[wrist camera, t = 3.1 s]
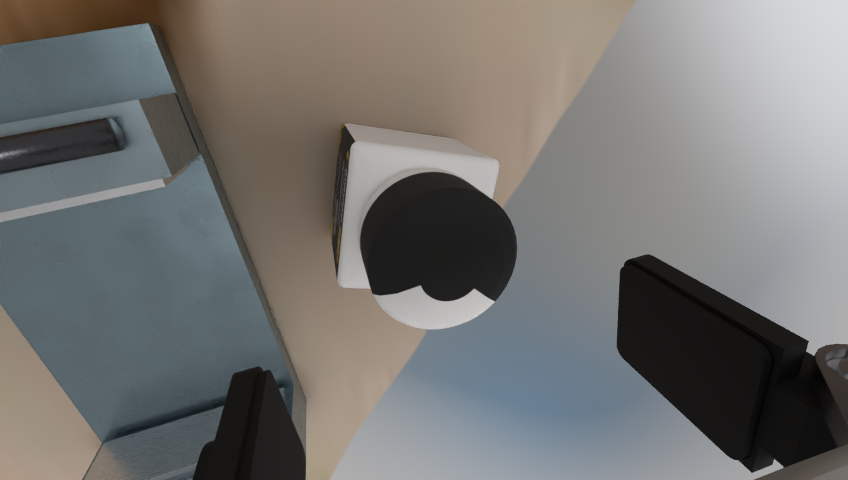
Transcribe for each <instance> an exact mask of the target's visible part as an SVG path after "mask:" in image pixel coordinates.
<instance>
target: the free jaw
mask: <svg viewBox="0 0 848 480" xmlns="http://www.w3.org/2000/svg"><path fill="white" fill-rule="evenodd" d="M197 156H199V152H198V150H197V147H196V145H195V142H194V140H193V138H192V135H191V133H190V130H189V128H188V125H187V123H186V120H185V118H184V115H183V113H182V110H181V108H180V105H179V103H178V100H177V98H176V95H175V93H172V94H166V95H160V96H155V97H149V98H144V99H138V100H133V101H127V102H122V103H116V104H110V105H105V106H99V107H94V108H88V109H83V110H77V111H72V112H66V113H61V114H55V115H49V116H44V117H38V118H33V119H27V120H22V121H16V122H11V123H5V124H0V222H4V221H9V220H13V219H18V218H22V217H27V216H32V215H36V214H41V213H46V212H50V211H55V210H59V209H64V208H69V207H73V206H78V205H83V204H87V203H92V202H96V201H101V200H106V199H110V198H115V197H120V196H124V195H129V194H134V193H138V192H143V191H147V190H152V189H157V188H161V187H166V186H167V185H168V184H169V183H171V182H172V181H173V180H174V179H175V178H177V177H178V176H179V175H180V174H182V173H183V172H184V171H185V170H186V169H188V168H189V167H190V166H191V165H190V162H191V161H192V160H194V159H195V158H196V157H197Z"/></svg>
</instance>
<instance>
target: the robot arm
mask: <svg viewBox="0 0 848 480" xmlns="http://www.w3.org/2000/svg"><path fill="white" fill-rule="evenodd" d="M808 342H809V341H807V340H805V339H804V338H802V337H800V336H798V335H796V334H795V333H793V332H790V331H789V330H787V329H785V328H784V327H782V326H780V325H778V324H776V323H774V322H772V321H771V320H769V319H767V318H765V317H763V316H761V315H760V314H758V313H756V312H754V311H752V310H751V309H749V308H747V307H745V306H743V305H741V304H740V303H738V302H736V301H734V300H732V299H731V298H729V297H727V296H725V295H723V294H721V293H720V292H718V291H716V290H714V289H712V288H710V287H709V286H707V285H705V284H703V283H701V282H699V281H698V280H696V279H694V278H692V277H690V276H688V275H687V274H685V273H683V272H681V271H679V270H678V269H676V268H674V267H672V266H670V265H668V264H666V263H665V262H663V261H661V260H659V259H657V258H656V257H654V256H651V255H643V256H640V257H636V258H632V259H629V260H627V261H626V262H625V264H624V267H622V268H621V270H620V284H619V306H618V328H617V348H618V351H619V353H620V355H621V356H622V358H623V359H624V360H625V361H626V362H628V363H629V364H630V365H631V366H632V367H633V368H634V369H635V370H636V371H637V372H638V373H639V374H640V375H642V376H643V377H644V378H645V379H646V380H647V381H648V382H649V383H650V384H651V385H652V386H653V387H654V388H656V389H657V390H658V391H659V392H660V393H661V394H662V395H663V396H664V397H665V398H666V399H667V400H668V401H669V402H670V403H671V404H673V405H674V406H675V407H676V408H677V409H678V410H679V411H680V412H681V413H682V414H683V415H684V416H686V418H688V419H689V420H690V421H691V422H692V423H693V424H694V425H695V426H696V427H697V428H698V429H699V430H700V431H701V432H703V433H704V434H705V435H706V436H707V437H708V438H709V439H710V440H711V441H712V442H713V443H715V445H716V446H718V447H719V448H720V449H721V450H722V451H723V452H724V453H725V454H726V455H727V456H729V457H730V458H732V459H734V460H739V461H740V462H741V463H742V464H743V465H744V466H745V467H746V468H747V469H748V470H750V471H751V472H752V473H753V472H755V471H757V470H760V469H763V468H765V467H767V466H770V465H772V464H773V460H774V459H775V460H777V461H778V462H779V463H780V464H781V465H783V467H784V468H783V469H780V470H777V471H775V472H773V473H770V474H768V475H765V476H762V477H760V478H757V479H755V480H848V345H847V344H834V345H826V346H824V347H822V348H819V349H818V350H817V352H816V354H815V356H813V355H811V354H809V353H808V352H806V349H807V345H808ZM305 476H306V458H305V451H304V448H303V445H302V442H301V440H300V438H299V435H298V433H297V431H296V428H295V426H294V423H293V421H292V419H291V416H290V414H289V412H288V409H287V407H286V404H285V402H284V400H283V397H282V395H281V393H280V390H279V388H278V385H277V383H276V381H275V378H274V376H273V374H272V372H271V371H270V370H266V371H263V369H262V368H261V367H260V366H257V367H254V368H250V369H247V370H243V371H240V372H236V373H234V374H233V376H232V379H231V382H230V386H229V389H228V393H227V397H226V400H225V404H224V408H223V411H222V415H221V418H220V422H219V426H218V429H217V433H216V437H215V440H214V441H210V442H207V443H206V444H205V445H204V446H203V448H202V450H201V453H200V456H199V459H198V462H197V466H196V469H195V472H194V476H193V479H192V480H305Z"/></svg>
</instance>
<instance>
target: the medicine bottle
mask: <svg viewBox="0 0 848 480" xmlns="http://www.w3.org/2000/svg"><path fill="white" fill-rule="evenodd" d="M498 172H499V163H498V161H497V160H496V159H494V158H492V157H490V156H487V155H485V154H483V153H481V152H479V151H477V150H475V149H473V148H471V147H469V146H467V145H465V144H463V143H461V142H459V141H457V140H455V139H452V138H447V137H440V136H433V135H426V134H419V133H412V132H405V131H398V130H391V129H384V128H377V127H370V126H363V125H356V124H349V123H346V124H343V125H342V126H341V128H340V138H339V149H338V160H337V171H336V182H335V193H334V204H333V215H332V226H331V238H332V245H333V253H334V260H335V268H336V275H337V282H338V284H339V285H340V286H341V287H342V288H362V289H371V290H372V293H373V295H374V297H375V299H376V301H377V302H378V304H379V305H380V306H381V307H382V309H383V310H384V311H385V312H386V313H388V314H389V315H390V316H391V317H393V318H394V319H396V320H397V321H399V322H401V323H403V324H405V325H408V326H412V327H415V328H421V329H443V328H448V327H453V326H457V325H459V324H462V323H465V322H467V321H469V320H471V319H473V318H475V317H476V316H478V315H480V314H481V313H483V312H484V311H485V310H486V309H488V308H489V307H490V306H491V305H492V304H493V303H494V302H495V301H496V300H497V298H498V297H499V296H500V295H501V293H502V292H503V290H504V289H505V287H506V286H507V284H508V282H509V280H510V278H511V276H512V273H513V269H514V266H515V262H516V255H517V242H516V235H515V231H514V228H513V225H512V223H511V221H510V219H509V217H508V216H507V214H506V213H505V211H504V210H503V209H502V208H501V207H500V206H499V205H498V204H497V203H496V202H495V201H493V200H492V198H493V194H494V189H495V185H496V181H497V176H498Z"/></svg>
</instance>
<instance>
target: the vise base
mask: <svg viewBox="0 0 848 480" xmlns="http://www.w3.org/2000/svg"><path fill="white" fill-rule="evenodd" d="M172 93H175V95H176V98H177V100H178V103H179V105H180V108H181V110H182V113H183V115H184V118H185V120H186V123H187V125H188V128H189V130H190V133H191V135H192V138H193V140H194V142H195V145H196V147H197V150H198V152H199V156H197V157H196V158H195V159H194V160H192V161H191V162H190V165H191V166H190V167H189V168H188V169H186V170H185V171H184V172H183V173H182V174H180V175H179V176H178V177H177V178H175V179H174V180H173V181H172V182H171V183H169V184H168V185H167V186H166V187H161V188H157V189H152V190H147V191H143V192H138V193H134V194H129V195H124V196H120V197H115V198H110V199H106V200H101V201H96V202H92V203H87V204H83V205H78V206H73V207H69V208H64V209H59V210H55V211H50V212H46V213H41V214H36V215H32V216H27V217H22V218H18V219H13V220H9V221H4V222H0V304H1V306H2V307H3V308H4V310H5V311H6V312H7V314H8V315H9V316H10V318H11V319H12V320H13V322H14V323H15V325H16V326H17V327H18V329H19V330H20V331H21V333H22V334H23V335H24V337H25V338H26V340H27V341H28V342H29V344H30V345H31V346H32V348H33V349H34V350H35V352H36V353H37V355H38V356H39V357H40V359H41V360H42V361H43V363H44V364H45V365H46V367H47V368H48V370H49V371H50V372H51V374H52V375H53V376H54V378H55V379H56V380H57V382H58V383H59V385H60V386H61V387H62V389H63V390H64V391H65V393H66V394H67V395H68V397H69V398H70V399H71V401H72V402H73V404H74V405H75V406H76V408H77V409H78V410H79V412H80V413H81V414H82V416H83V417H84V419H85V420H86V421H87V423H88V424H89V425H90V427H91V428H92V429H93V431H94V432H95V434H96V435H97V436H98V438H99V439H100V440H101V442H102V445H101V447H100V448H99V450H98V452H97V454H96V456H95V457H94V459H93V461H92V463H91V465H90V466H89V468H88V470H87V472H86V474H85V476H84V477H83V479H82V480H192V479H193V476H194V472H195V469H196V466H197V462H198V459H199V456H200V453H201V450H202V448H203V446H204V445H205V444H206V443H207V442H210V441H214V440H215V437H216V433H217V429H218V426H219V422H220V418H221V415H222V411H223V408H224V404H225V400H226V397H227V393H228V389H229V386H230V382H231V379H232V376H233V374H234V373H236V372H240V371H243V370H247V369H250V368H254V367H257V366H260V367H261V368H262V369H263V371H266V370H270V371H271V372H272V374H273V376H274V378H275V381H276V383H277V385H278V388H279V390H280V393H281V395H282V397H283V400H284V402H285V404H286V407H287V409H288V412H289V414H290V416H291V419H292V421H293V423H294V426H295V428H296V431H297V433H298V435H299V438H300V440H301V442H302V445H303V448H304V451H305V458H306V398H305V396H304V393H303V391H302V388H301V385H300V383H299V380H298V378H297V375H296V373H295V370H294V368H293V365H292V363H291V360H290V357H289V355H288V352H287V350H286V347H285V345H284V342H283V340H282V337H281V335H280V332H279V329H278V327H277V324H276V322H275V319H274V317H273V314H272V312H271V309H270V307H269V304H268V301H267V299H266V296H265V294H264V291H263V289H262V286H261V284H260V281H259V279H258V276H257V273H256V271H255V268H254V266H253V263H252V261H251V258H250V256H249V253H248V251H247V248H246V245H245V243H244V240H243V238H242V235H241V233H240V230H239V228H238V225H237V223H236V220H235V217H234V215H233V212H232V210H231V207H230V205H229V202H228V200H227V197H226V195H225V192H224V189H223V187H222V184H221V182H220V179H219V177H218V174H217V172H216V169H215V167H214V164H213V161H212V159H211V156H210V154H209V151H208V149H207V146H206V144H205V141H204V139H203V136H202V134H201V131H200V128H199V126H198V123H197V121H196V118H195V116H194V113H193V111H192V108H191V106H190V103H189V100H188V98H187V95H186V93H185V90H184V88H183V85H182V83H181V80H180V78H179V75H178V72H177V70H176V67H175V65H174V62H173V60H172V57H171V55H170V52H169V50H168V47H167V44H166V42H165V39H164V37H163V34H162V32H161V29H160V27H159V26H157V25H154V24H150V23H145V24H139V25H132V26H125V27H119V28H112V29H106V30H99V31H92V32H86V33H79V34H73V35H66V36H60V37H53V38H46V39H40V40H33V41H27V42H20V43H13V44H7V45H0V124H5V123H11V122H16V121H22V120H27V119H33V118H38V117H44V116H49V115H55V114H61V113H66V112H72V111H77V110H83V109H88V108H94V107H99V106H105V105H110V104H116V103H122V102H127V101H133V100H138V99H144V98H149V97H155V96H160V95H166V94H172ZM305 479H306V476H305Z"/></svg>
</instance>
